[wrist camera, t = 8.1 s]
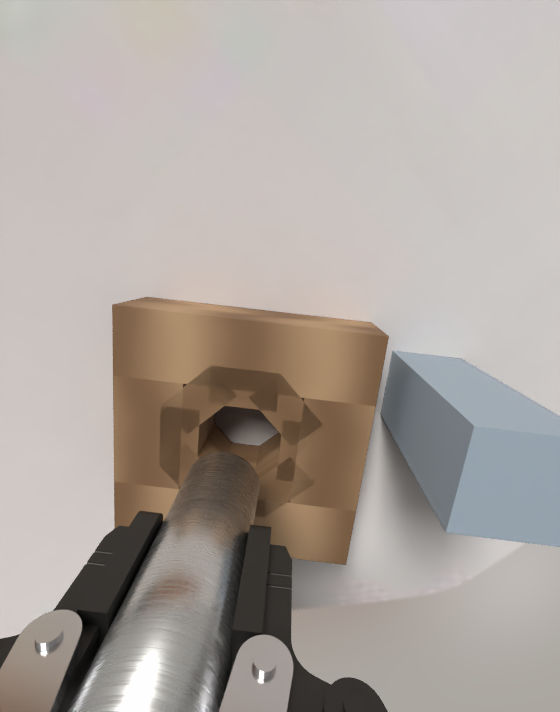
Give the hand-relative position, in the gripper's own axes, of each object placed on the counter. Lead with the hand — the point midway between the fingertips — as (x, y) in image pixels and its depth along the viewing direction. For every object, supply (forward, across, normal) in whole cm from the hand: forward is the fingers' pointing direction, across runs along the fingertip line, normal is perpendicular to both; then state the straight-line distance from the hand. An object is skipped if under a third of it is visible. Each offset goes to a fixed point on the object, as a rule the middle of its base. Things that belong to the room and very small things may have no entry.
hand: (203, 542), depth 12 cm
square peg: (+11, -10, -3) cm, 15 cm away
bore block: (+11, 0, 0) cm, 11 cm away
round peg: (+3, 0, 0) cm, 3 cm away
